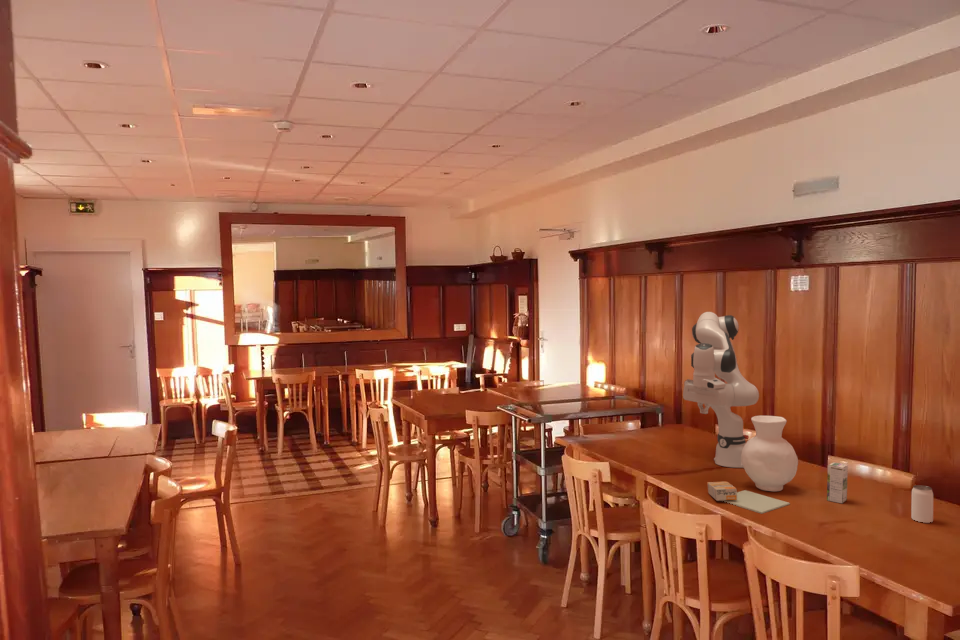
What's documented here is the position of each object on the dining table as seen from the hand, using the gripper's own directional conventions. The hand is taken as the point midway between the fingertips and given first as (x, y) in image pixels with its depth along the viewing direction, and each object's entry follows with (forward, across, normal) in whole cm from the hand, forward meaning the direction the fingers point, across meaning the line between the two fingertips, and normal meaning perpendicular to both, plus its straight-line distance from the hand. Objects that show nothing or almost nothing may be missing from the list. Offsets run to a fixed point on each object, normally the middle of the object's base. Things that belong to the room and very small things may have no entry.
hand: (703, 413), depth 279 cm
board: (+30, +27, -4) cm, 41 cm away
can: (+30, +74, +27) cm, 84 cm away
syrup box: (+31, +45, +24) cm, 59 cm away
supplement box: (+28, +11, -6) cm, 31 cm away
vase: (+31, +20, +17) cm, 41 cm away
